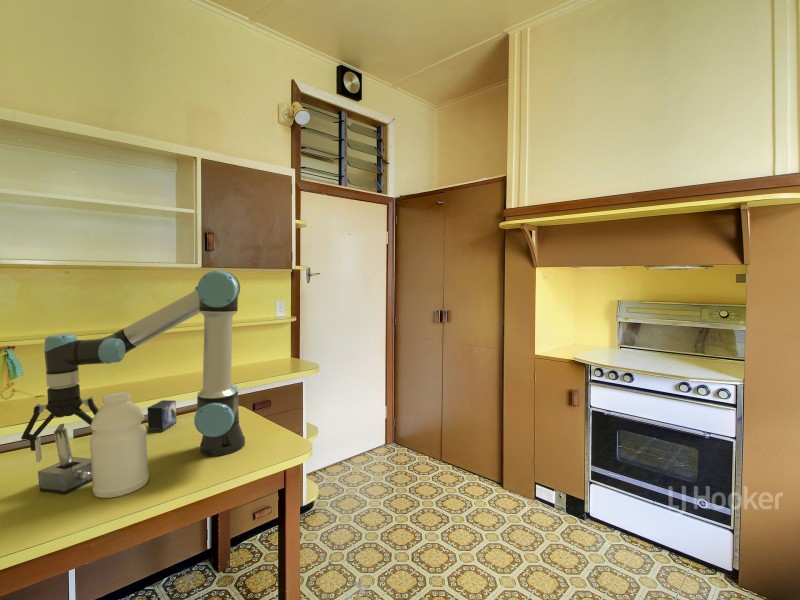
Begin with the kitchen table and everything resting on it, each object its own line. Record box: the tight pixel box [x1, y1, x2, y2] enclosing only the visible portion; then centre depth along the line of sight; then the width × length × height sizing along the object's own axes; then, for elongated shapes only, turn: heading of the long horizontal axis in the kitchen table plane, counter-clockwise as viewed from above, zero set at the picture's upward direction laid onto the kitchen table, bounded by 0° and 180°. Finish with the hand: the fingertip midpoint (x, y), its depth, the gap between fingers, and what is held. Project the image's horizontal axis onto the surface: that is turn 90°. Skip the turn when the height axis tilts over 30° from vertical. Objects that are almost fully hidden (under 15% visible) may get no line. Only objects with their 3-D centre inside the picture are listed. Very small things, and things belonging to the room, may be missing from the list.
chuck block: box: [37, 456, 93, 495], centre depth 123 cm, size 12×10×6 cm
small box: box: [147, 399, 178, 433], centre depth 170 cm, size 11×6×10 cm, turn 179°
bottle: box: [89, 391, 150, 499], centre depth 120 cm, size 14×14×28 cm
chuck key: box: [53, 423, 74, 469], centre depth 122 cm, size 7×3×17 cm, turn 32°
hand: (67, 454), depth 123 cm, fingers open, 13 cm apart
